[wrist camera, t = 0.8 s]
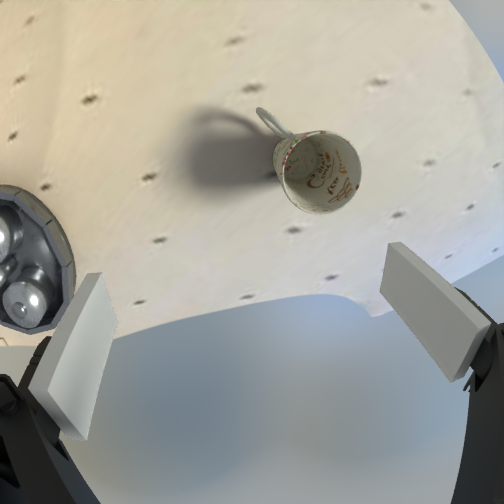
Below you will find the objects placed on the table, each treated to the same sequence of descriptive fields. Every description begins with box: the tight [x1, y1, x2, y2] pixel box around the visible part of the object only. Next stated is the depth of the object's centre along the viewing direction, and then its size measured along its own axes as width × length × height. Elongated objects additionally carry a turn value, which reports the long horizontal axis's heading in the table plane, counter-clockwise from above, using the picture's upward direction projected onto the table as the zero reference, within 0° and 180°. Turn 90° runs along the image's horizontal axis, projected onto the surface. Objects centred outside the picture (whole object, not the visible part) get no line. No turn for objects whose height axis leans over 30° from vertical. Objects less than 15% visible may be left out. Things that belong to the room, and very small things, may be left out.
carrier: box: [0, 185, 76, 335], centre depth 33 cm, size 24×24×8 cm
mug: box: [256, 107, 362, 215], centre depth 31 cm, size 8×13×10 cm, turn 45°
